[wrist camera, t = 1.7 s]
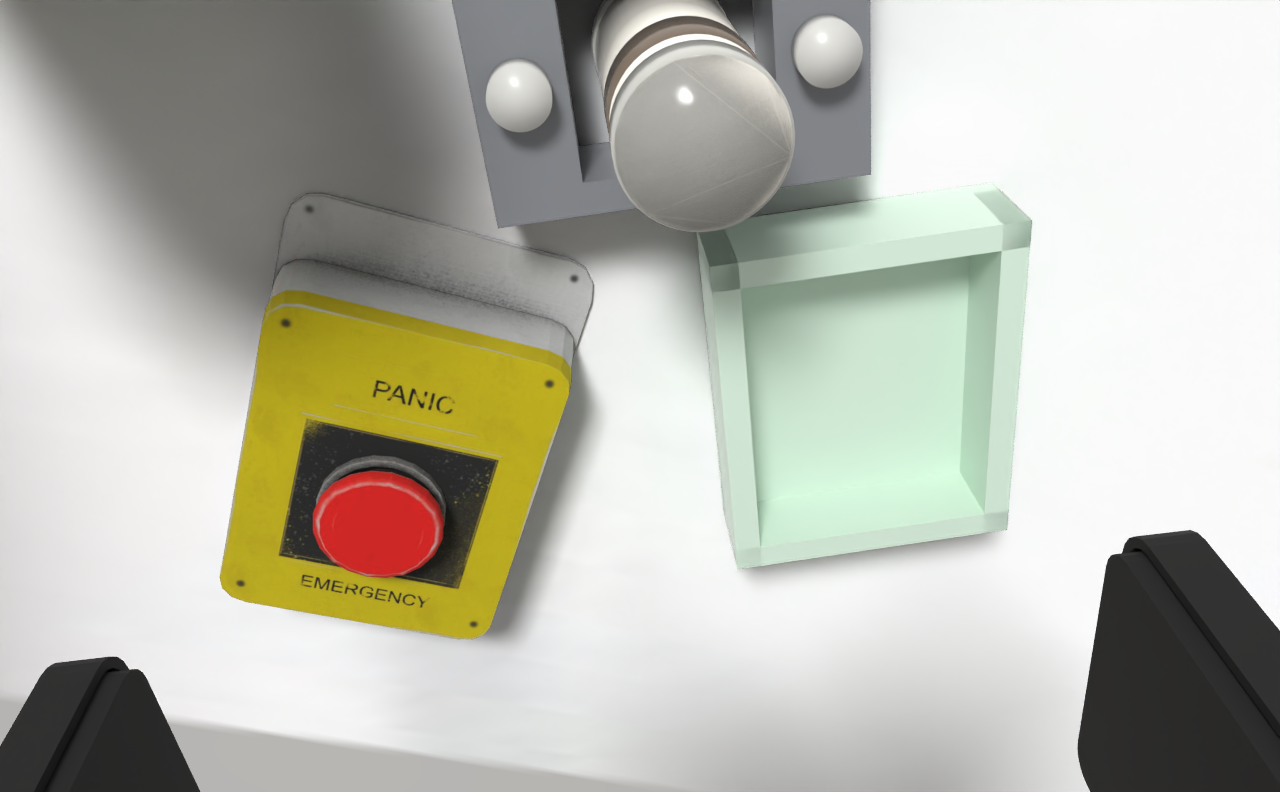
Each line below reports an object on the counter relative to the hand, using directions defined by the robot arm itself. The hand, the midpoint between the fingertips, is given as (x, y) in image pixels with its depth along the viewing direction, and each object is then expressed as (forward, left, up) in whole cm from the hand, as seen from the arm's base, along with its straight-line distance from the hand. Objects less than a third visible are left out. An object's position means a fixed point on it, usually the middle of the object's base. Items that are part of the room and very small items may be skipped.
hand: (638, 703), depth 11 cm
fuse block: (-1, +3, -22) cm, 22 cm away
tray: (+10, +8, -22) cm, 26 cm away
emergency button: (+10, -7, -23) cm, 26 cm away
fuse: (-1, +3, -22) cm, 22 cm away
